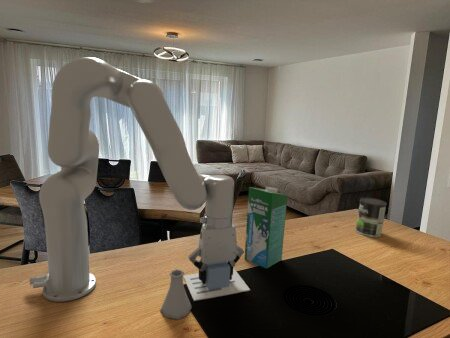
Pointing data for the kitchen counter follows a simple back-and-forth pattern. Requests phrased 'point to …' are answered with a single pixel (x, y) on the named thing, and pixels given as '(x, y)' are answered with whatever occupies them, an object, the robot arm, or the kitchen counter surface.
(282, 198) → the milk carton
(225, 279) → the blue cube
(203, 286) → the letter
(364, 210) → the coffee can
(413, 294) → the kitchen counter surface
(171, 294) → the flask
